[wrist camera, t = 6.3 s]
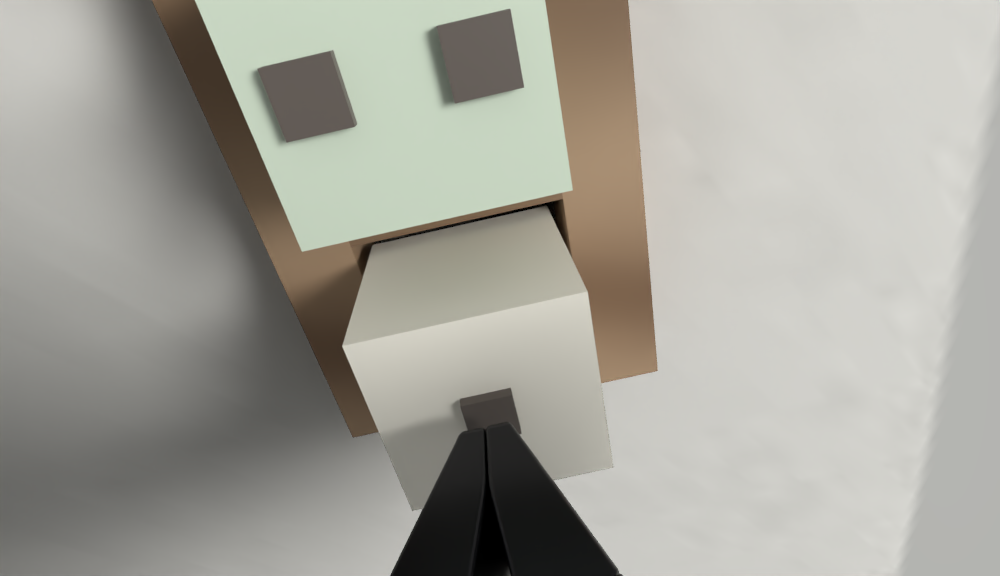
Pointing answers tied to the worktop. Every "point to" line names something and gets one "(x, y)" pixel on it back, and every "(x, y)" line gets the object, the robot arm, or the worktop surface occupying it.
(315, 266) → the board
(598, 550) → the robot arm
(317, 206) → the key two
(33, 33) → the worktop surface
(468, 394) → the key one
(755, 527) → the worktop surface
